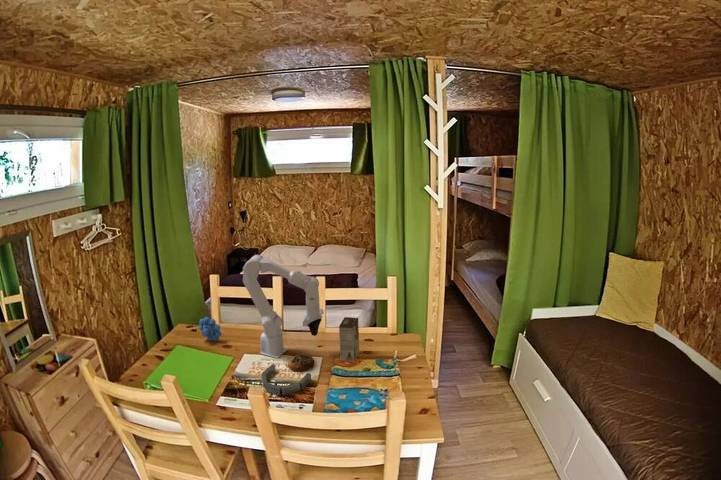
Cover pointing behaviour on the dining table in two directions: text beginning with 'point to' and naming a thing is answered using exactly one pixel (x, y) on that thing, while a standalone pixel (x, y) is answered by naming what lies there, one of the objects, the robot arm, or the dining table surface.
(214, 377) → the dining table surface
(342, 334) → the coffee box
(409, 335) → the dining table surface
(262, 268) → the robot arm
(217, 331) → the grapes
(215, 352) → the dining table surface
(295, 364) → the bread roll
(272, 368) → the collar
